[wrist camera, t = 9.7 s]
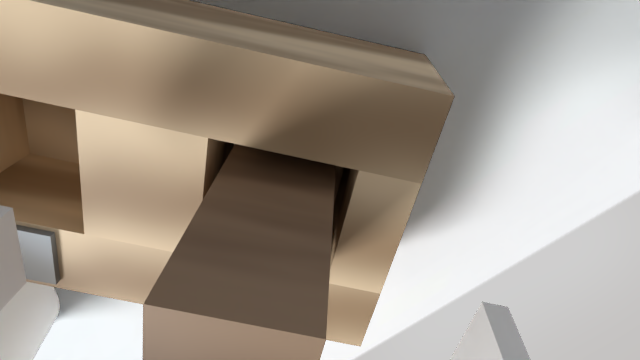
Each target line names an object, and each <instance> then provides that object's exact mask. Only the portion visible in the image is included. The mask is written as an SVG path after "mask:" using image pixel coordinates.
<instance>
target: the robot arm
mask: <svg viewBox="0 0 640 360" xmlns="http://www.w3.org/2000/svg"><path fill="white" fill-rule="evenodd" d="M26 283H27V282H26V276H25V271H24V266H23V260H22V255H21V249H20V244H19V238H18V233H17V228H16V222H15V217H14V211H13V208H11V207H6V206H1V205H0V311H1V310H2V309H3V307H4V306H5V305H6V304H7V303H8V302H9V301H10V300H11V299H12V298H13V297H14V296H15V295H16V293H17V292H18V291H19V290H20V289H21V288H22V287H23V286H24V285H25V284H26ZM450 360H530V357H529V355H528V353H527V351H526V348H525V346H524V343H523V341H522V339H521V336H520V334H519V332H518V329H517V327H516V325H515V323H514V320H513V318H512V315H511V313H510V311H509V308H508V307H505V306H500V305H495V304H490V303H485V302H482V303H481V305H480V307H479V308H478V310H477V312H476V314H475V316H474V317H473V319H472V321H471V323H470V325H469V327H468V328H467V330H466V332H465V334H464V335H463V337H462V339H461V341H460V343H459V344H458V346H457V348H456V350H455V352H454V353H453V355H452V357H451V359H450Z"/></svg>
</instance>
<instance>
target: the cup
mask: <svg viewBox="0 0 640 360" xmlns="http://www.w3.org/2000/svg"><path fill="white" fill-rule="evenodd" d="M59 310H60V302H59V298H58V295H57V293H56V291H55V289H54V287H52V286H46V285H41V284H36V283H31V282H27V283H26V284H25V285H24V286H23V287H22V288H21V289H20V290H19V291H18V292H17V293H16V295H15V296H14V297H13V298H12V299H11V300H10V301H9V302H8V303H7V304H6V305H5V306H4V307H3V309H2V310H1V311H0V360H33V359H34V357H35V355H36V353H37V352H38V350H39V348H40V346H41V344H42V343H43V341H44V339H45V337H46V336H47V334H48V332H49V330H50V329H51V327H52V325H53V323H54V321H55V320H56V318H57V316H58V314H59Z"/></svg>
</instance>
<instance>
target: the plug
mask: <svg viewBox="0 0 640 360" xmlns="http://www.w3.org/2000/svg"><path fill="white" fill-rule="evenodd" d="M335 172H336V165H331V164H327V163H322V162H317V161H313V160H308V159H303V158H299V157H294V156H289V155H285V154H280V153H275V152H271V151H266V150H262V149H257V148H252V147H248V146H243V145H238V144H235V145H234V147H233V148H232V150H231V152H230V153H229V155H228V157H227V159H226V160H225V162H224V164H223V166H222V167H221V169H220V171H219V173H218V174H217V176H216V178H215V180H214V181H213V183H212V185H211V187H210V188H209V190H208V192H207V194H206V195H205V197H204V199H203V201H202V202H201V204H200V206H199V208H198V209H197V211H196V213H195V215H194V216H193V218H192V220H191V222H190V223H189V225H188V227H187V229H186V230H185V232H184V234H183V236H182V237H181V239H180V241H179V243H178V244H177V246H176V248H175V250H174V251H173V253H172V255H171V256H170V258H169V260H168V262H167V263H166V265H165V267H164V269H163V270H162V272H161V274H160V276H159V277H158V279H157V281H156V283H155V284H154V286H153V288H152V290H151V291H150V293H149V295H148V297H147V298H146V300H145V302H144V304H143V360H320V357H321V354H322V351H323V348H324V344H325V341H326V331H327V314H328V296H329V278H330V261H331V243H332V225H333V207H334V190H335Z"/></svg>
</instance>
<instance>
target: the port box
mask: <svg viewBox="0 0 640 360" xmlns="http://www.w3.org/2000/svg"><path fill="white" fill-rule="evenodd" d="M453 99H454V95H453V93H452V92H451V91H450V89H449V88H448V86H447V85H446V84H445V82H444V81H443V79H442V78H441V76H440V75H439V74H438V72H437V71H436V69H435V68H434V67H433V65H432V64H431V62H430V61H429V59H428V58H427V57H426V55H424V54H420V53H416V52H411V51H407V50H403V49H398V48H394V47H390V46H385V45H381V44H377V43H372V42H368V41H364V40H359V39H355V38H351V37H346V36H342V35H338V34H333V33H329V32H324V31H320V30H316V29H311V28H307V27H303V26H298V25H294V24H290V23H285V22H281V21H277V20H272V19H268V18H264V17H259V16H255V15H251V14H246V13H242V12H238V11H233V10H229V9H225V8H220V7H216V6H211V5H207V4H203V3H198V2H194V1H190V0H0V205H1V206H6V207H11V208H13V211H14V217H15V222H16V228H17V233H18V238H19V244H20V249H21V255H22V260H23V266H24V271H25V276H26V282H31V283H36V284H41V285H46V286H52V287H57V288H62V289H67V290H72V291H77V292H83V293H88V294H93V295H98V296H103V297H108V298H113V299H119V300H124V301H129V302H134V303H139V304H144V302H145V300H146V298H147V297H148V295H149V293H150V291H151V290H152V288H153V286H154V284H155V283H156V281H157V279H158V277H159V276H160V274H161V272H162V270H163V269H164V267H165V265H166V263H167V262H168V260H169V258H170V256H171V255H172V253H173V251H174V250H175V248H176V246H177V244H178V243H179V241H180V239H181V237H182V236H183V234H184V232H185V230H186V229H187V227H188V225H189V223H190V222H191V220H192V218H193V216H194V215H195V213H196V211H197V209H198V208H199V206H200V204H201V202H202V201H203V199H204V197H205V195H206V194H207V192H208V190H209V188H210V187H211V185H212V183H213V181H214V180H215V178H216V176H217V174H218V173H219V171H220V169H221V167H222V166H223V164H224V162H225V160H226V159H227V157H228V155H229V153H230V152H231V150H232V148H233V147H234V145H235V144H238V145H243V146H248V147H252V148H257V149H262V150H266V151H271V152H275V153H280V154H285V155H289V156H294V157H299V158H303V159H308V160H313V161H317V162H322V163H327V164H331V165H336V172H335V190H334V207H333V225H332V243H331V261H330V278H329V296H328V314H327V331H326V340H330V341H335V342H340V343H345V344H350V345H356V346H361V344H362V341H363V338H364V336H365V333H366V330H367V328H368V325H369V322H370V320H371V317H372V314H373V312H374V309H375V306H376V304H377V301H378V299H379V296H380V293H381V291H382V288H383V285H384V283H385V280H386V277H387V275H388V272H389V269H390V267H391V264H392V261H393V259H394V256H395V253H396V251H397V248H398V245H399V243H400V240H401V237H402V235H403V232H404V229H405V227H406V224H407V221H408V219H409V216H410V213H411V211H412V208H413V205H414V203H415V200H416V197H417V195H418V192H419V189H420V187H421V184H422V182H423V179H424V176H425V174H426V171H427V168H428V166H429V163H430V160H431V158H432V155H433V152H434V150H435V147H436V144H437V142H438V139H439V136H440V134H441V131H442V128H443V126H444V123H445V120H446V118H447V115H448V112H449V110H450V107H451V104H452V102H453Z"/></svg>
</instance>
